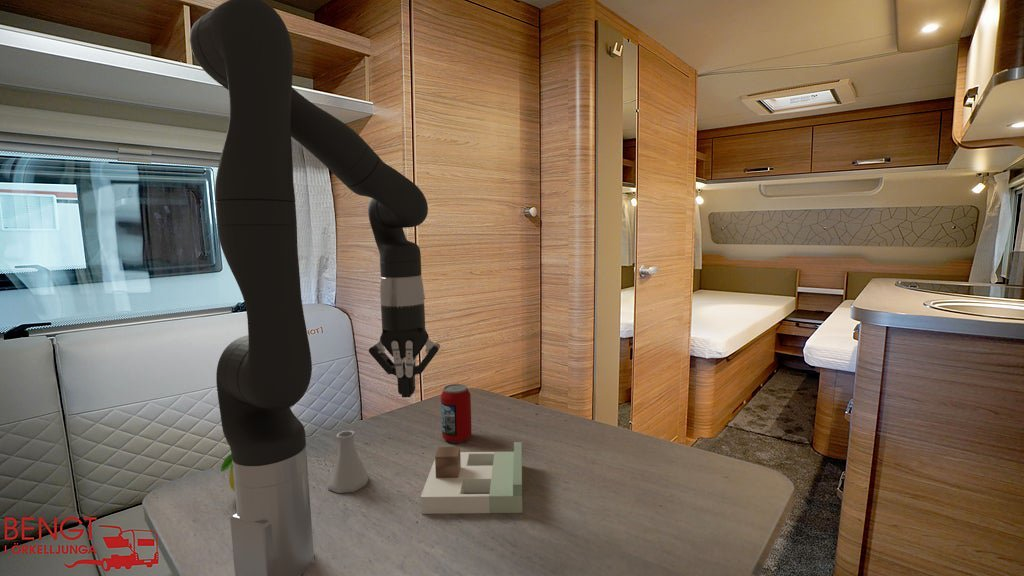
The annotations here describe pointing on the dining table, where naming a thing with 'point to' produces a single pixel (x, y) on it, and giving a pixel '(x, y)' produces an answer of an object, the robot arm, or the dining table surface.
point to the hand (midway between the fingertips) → (407, 395)
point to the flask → (347, 466)
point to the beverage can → (456, 413)
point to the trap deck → (477, 485)
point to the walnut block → (447, 462)
